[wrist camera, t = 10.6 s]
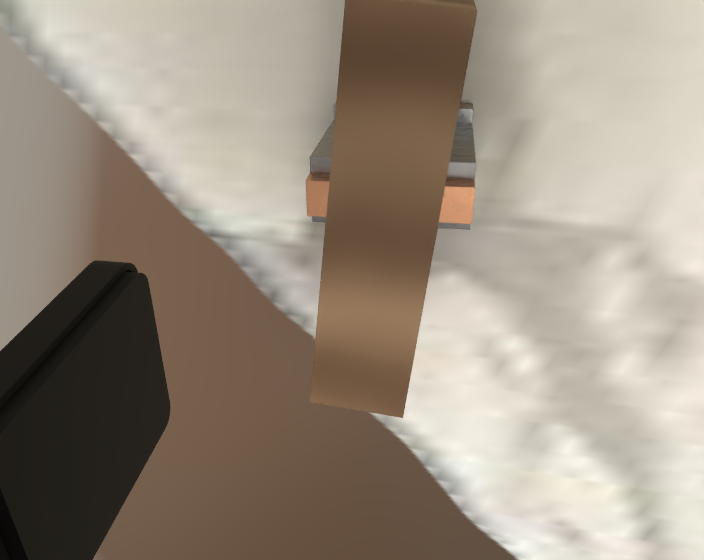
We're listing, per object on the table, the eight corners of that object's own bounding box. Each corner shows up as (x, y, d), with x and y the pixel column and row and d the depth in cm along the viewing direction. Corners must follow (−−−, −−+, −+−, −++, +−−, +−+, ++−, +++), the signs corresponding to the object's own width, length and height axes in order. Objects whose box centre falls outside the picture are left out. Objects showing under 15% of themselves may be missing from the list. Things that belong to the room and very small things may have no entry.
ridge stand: (337, 100, 34) (304, 148, 26) (472, 103, 33) (478, 154, 25) (339, 179, 36) (308, 245, 28) (465, 185, 35) (468, 254, 27)
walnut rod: (362, -15, 23) (345, -6, 19) (473, -1, 23) (477, 11, 19) (326, 348, 31) (309, 401, 27) (408, 362, 30) (402, 418, 27)
